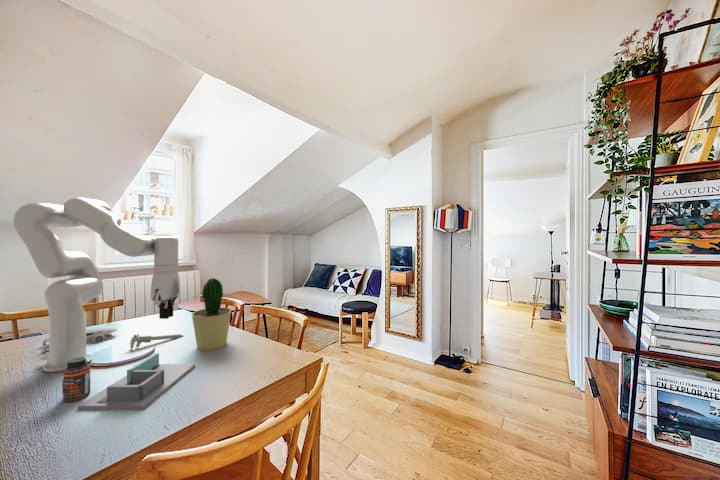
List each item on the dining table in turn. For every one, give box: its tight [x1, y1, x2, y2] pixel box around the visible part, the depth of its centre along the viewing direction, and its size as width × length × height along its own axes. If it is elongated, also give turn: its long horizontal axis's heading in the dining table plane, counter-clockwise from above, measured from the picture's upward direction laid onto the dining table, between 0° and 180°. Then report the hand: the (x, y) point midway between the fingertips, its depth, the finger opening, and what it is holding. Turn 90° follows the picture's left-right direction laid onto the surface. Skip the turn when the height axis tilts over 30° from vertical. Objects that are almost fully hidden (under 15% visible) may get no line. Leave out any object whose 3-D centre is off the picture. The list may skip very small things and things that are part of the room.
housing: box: [77, 363, 196, 410], centre depth 92 cm, size 18×26×5 cm
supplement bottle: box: [61, 357, 91, 403], centre depth 84 cm, size 6×6×11 cm
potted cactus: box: [191, 278, 232, 351], centre depth 125 cm, size 15×15×30 cm
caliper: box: [129, 333, 184, 350], centre depth 127 cm, size 20×1×6 cm, turn 145°
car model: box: [40, 327, 118, 354], centre depth 127 cm, size 11×24×5 cm, turn 139°
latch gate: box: [126, 352, 160, 383], centre depth 97 cm, size 1×13×4 cm, turn 1°
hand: (166, 317), depth 108 cm, fingers closed
